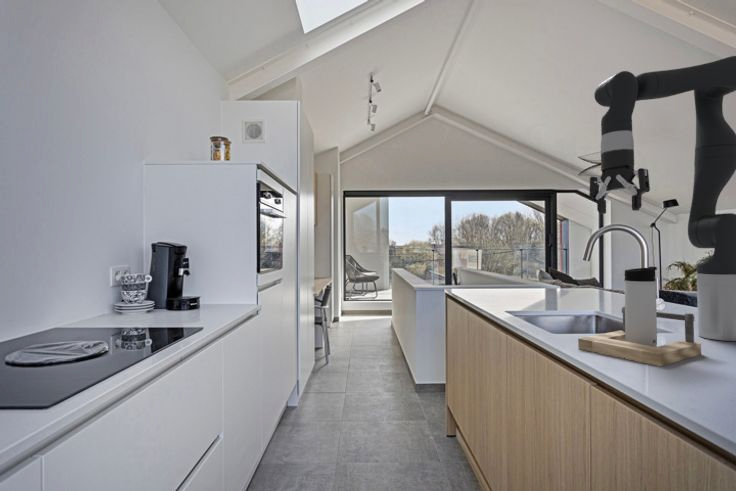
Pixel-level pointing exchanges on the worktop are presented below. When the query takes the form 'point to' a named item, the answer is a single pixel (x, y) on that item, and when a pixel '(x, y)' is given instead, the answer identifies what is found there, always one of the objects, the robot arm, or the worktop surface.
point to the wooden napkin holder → (647, 354)
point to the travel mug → (640, 306)
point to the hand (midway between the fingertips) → (618, 212)
